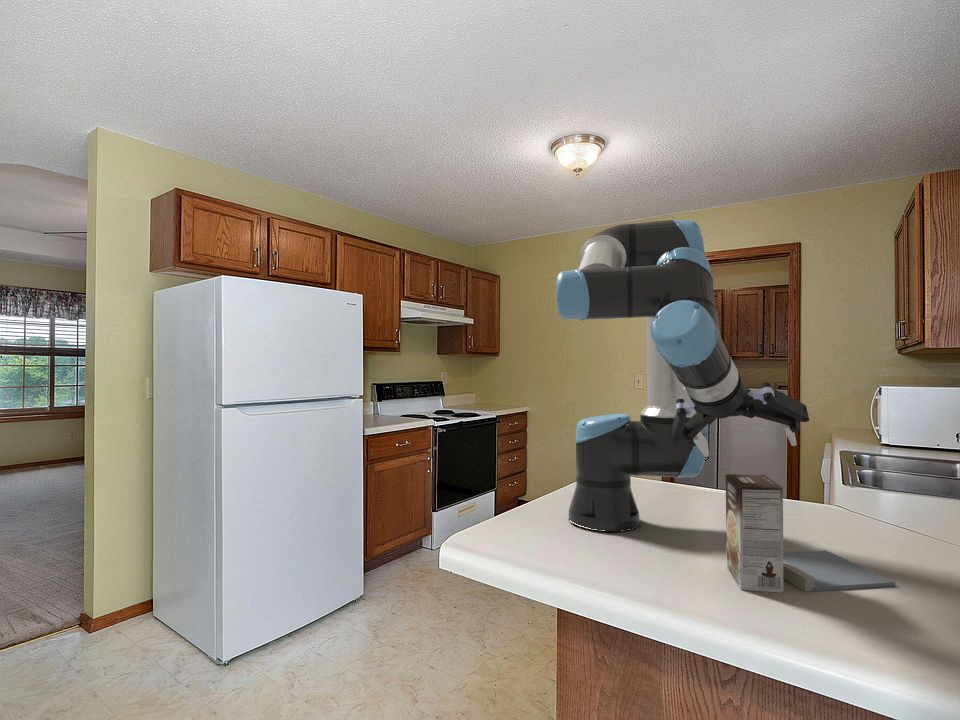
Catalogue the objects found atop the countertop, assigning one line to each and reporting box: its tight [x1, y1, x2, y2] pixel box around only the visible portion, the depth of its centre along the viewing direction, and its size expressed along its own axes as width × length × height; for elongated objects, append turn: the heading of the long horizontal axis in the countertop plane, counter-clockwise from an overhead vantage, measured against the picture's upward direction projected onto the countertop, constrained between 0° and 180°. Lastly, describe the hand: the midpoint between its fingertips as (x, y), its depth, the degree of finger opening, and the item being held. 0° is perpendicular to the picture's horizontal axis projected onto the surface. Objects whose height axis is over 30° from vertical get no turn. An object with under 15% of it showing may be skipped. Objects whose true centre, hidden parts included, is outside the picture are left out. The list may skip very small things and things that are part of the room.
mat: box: [783, 549, 896, 593], centre depth 87 cm, size 14×15×2 cm
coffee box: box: [725, 473, 785, 594], centre depth 84 cm, size 9×6×16 cm
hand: (747, 444), depth 90 cm, fingers open, 13 cm apart
